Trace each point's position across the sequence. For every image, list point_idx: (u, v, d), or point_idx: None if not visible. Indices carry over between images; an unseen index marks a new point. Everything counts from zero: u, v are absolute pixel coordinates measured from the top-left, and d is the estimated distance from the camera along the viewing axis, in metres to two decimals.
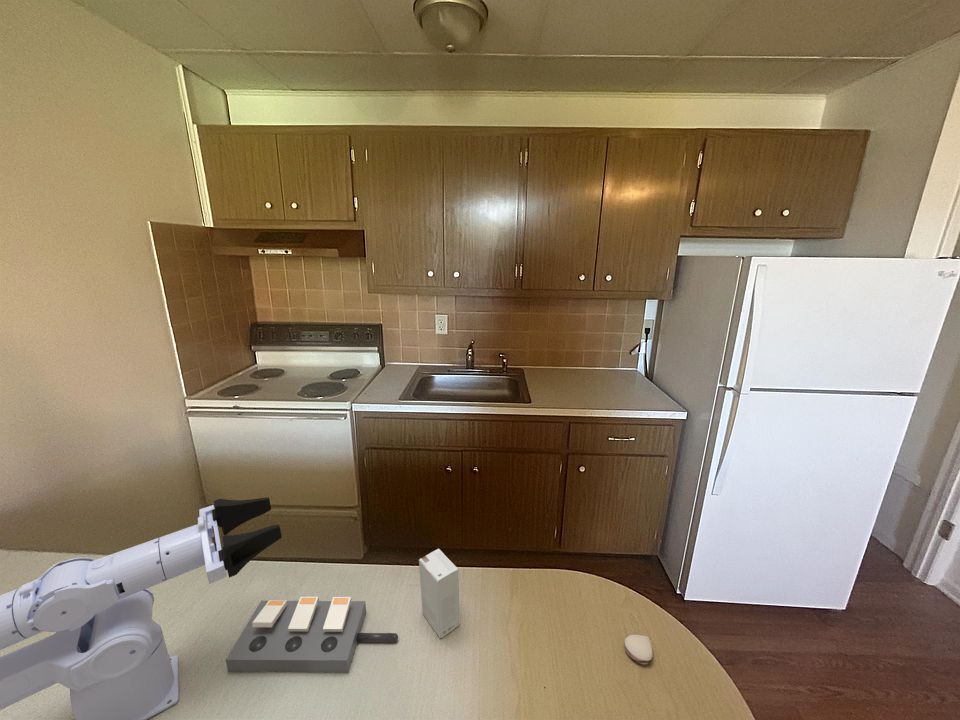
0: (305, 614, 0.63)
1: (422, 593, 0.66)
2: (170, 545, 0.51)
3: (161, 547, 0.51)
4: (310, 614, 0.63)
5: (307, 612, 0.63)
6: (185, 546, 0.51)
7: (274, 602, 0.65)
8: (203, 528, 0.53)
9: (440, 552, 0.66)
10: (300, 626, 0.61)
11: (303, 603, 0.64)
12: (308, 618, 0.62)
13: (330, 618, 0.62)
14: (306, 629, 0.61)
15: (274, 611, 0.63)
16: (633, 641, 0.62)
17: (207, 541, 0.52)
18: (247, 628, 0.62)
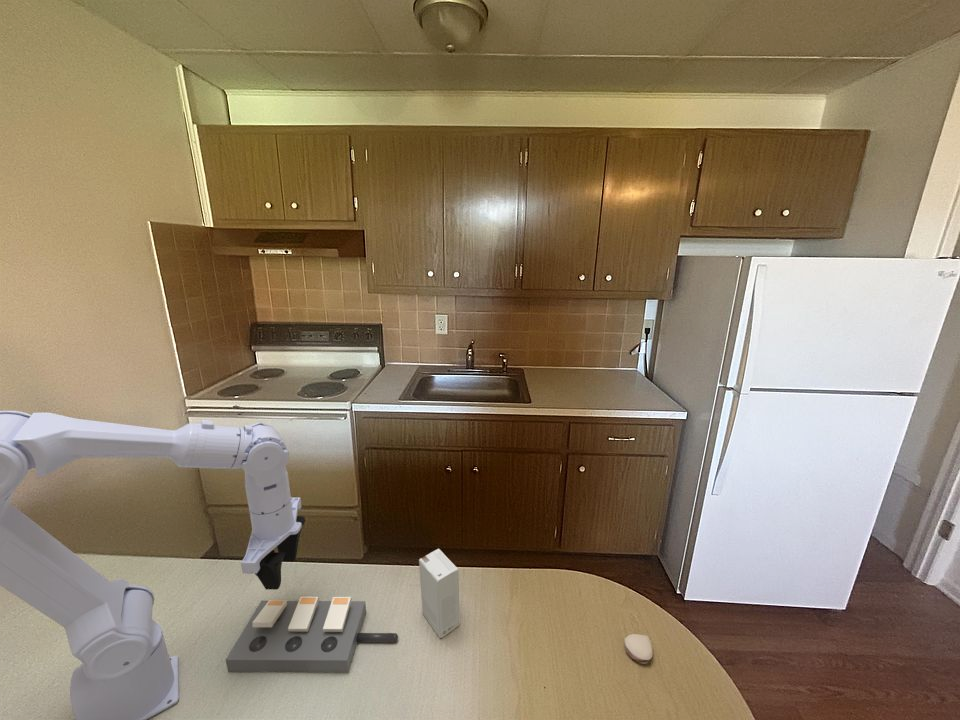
0: (305, 614, 0.63)
1: (422, 593, 0.66)
2: (283, 514, 0.58)
3: (284, 508, 0.58)
4: (310, 614, 0.63)
5: (307, 612, 0.63)
6: (279, 525, 0.58)
7: (274, 602, 0.65)
8: (291, 533, 0.59)
9: (440, 552, 0.66)
10: (300, 626, 0.61)
11: (303, 603, 0.64)
12: (308, 618, 0.62)
13: (330, 618, 0.62)
14: (306, 629, 0.61)
15: (274, 611, 0.63)
16: (633, 640, 0.62)
17: (279, 543, 0.58)
18: (247, 628, 0.62)
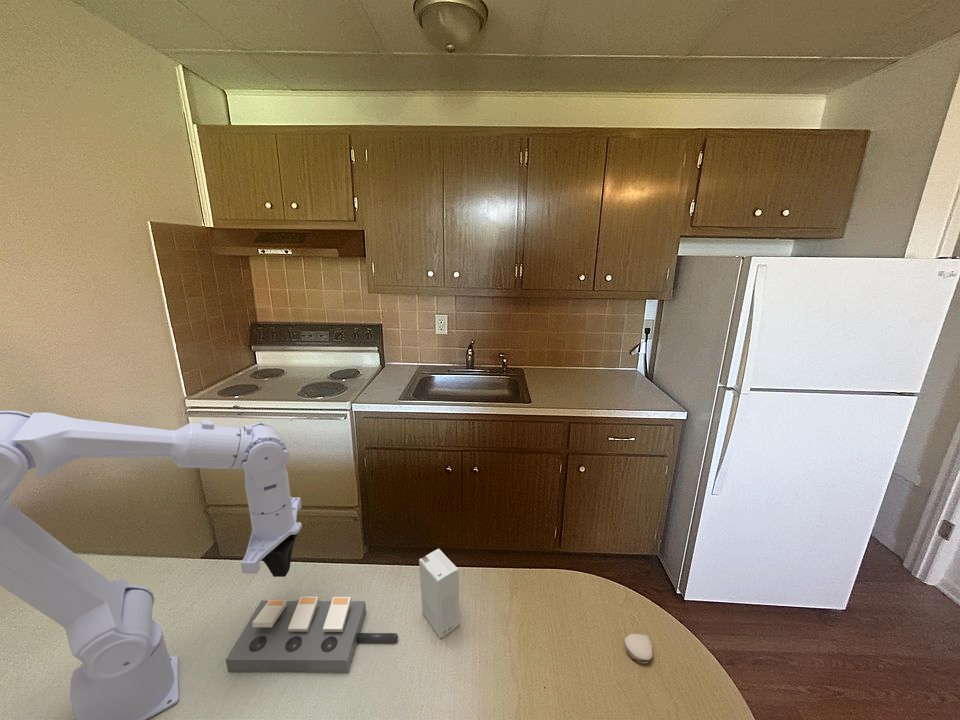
0: (305, 614, 0.63)
1: (422, 593, 0.66)
2: (283, 514, 0.58)
3: (284, 508, 0.58)
4: (310, 614, 0.63)
5: (307, 612, 0.63)
6: (279, 525, 0.58)
7: (274, 602, 0.65)
8: (291, 533, 0.59)
9: (440, 552, 0.66)
10: (300, 626, 0.61)
11: (303, 603, 0.64)
12: (308, 618, 0.62)
13: (330, 618, 0.62)
14: (306, 629, 0.61)
15: (274, 611, 0.63)
16: (633, 640, 0.62)
17: (279, 543, 0.58)
18: (247, 628, 0.62)
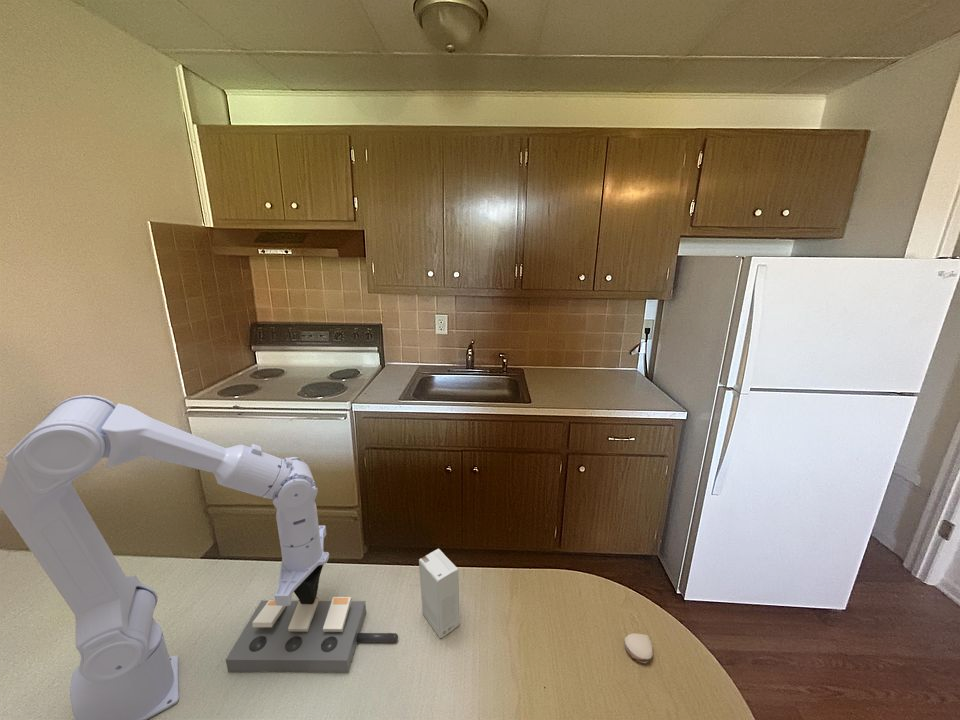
0: (305, 614, 0.63)
1: (422, 593, 0.66)
2: (313, 545, 0.60)
3: (313, 540, 0.60)
4: (310, 614, 0.63)
5: (307, 612, 0.63)
6: (308, 557, 0.60)
7: (274, 602, 0.65)
8: (320, 564, 0.61)
9: (440, 552, 0.66)
10: (300, 626, 0.61)
11: None
12: (308, 618, 0.62)
13: (330, 618, 0.62)
14: (306, 629, 0.61)
15: (274, 611, 0.63)
16: (633, 640, 0.62)
17: (309, 574, 0.60)
18: (247, 628, 0.62)
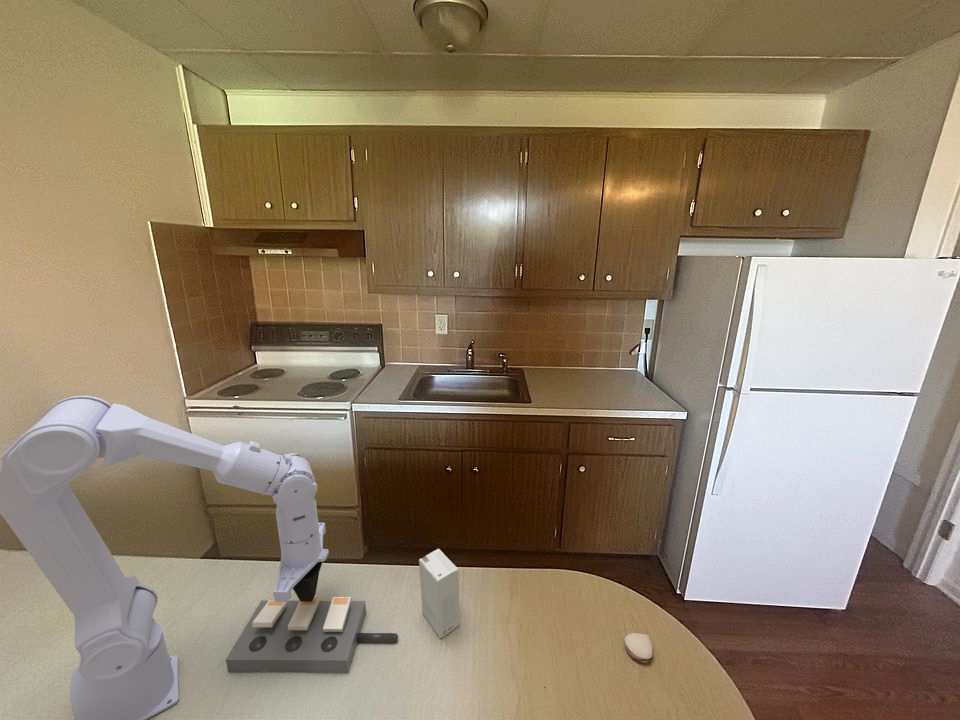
0: (305, 613, 0.63)
1: (422, 593, 0.66)
2: (312, 542, 0.60)
3: (313, 536, 0.60)
4: (310, 614, 0.63)
5: (307, 612, 0.63)
6: (308, 554, 0.60)
7: (274, 602, 0.65)
8: (319, 560, 0.61)
9: (440, 552, 0.66)
10: (300, 624, 0.61)
11: (303, 604, 0.64)
12: (308, 617, 0.62)
13: (330, 618, 0.62)
14: (306, 628, 0.61)
15: (274, 611, 0.63)
16: (633, 639, 0.62)
17: (308, 571, 0.59)
18: (247, 628, 0.62)
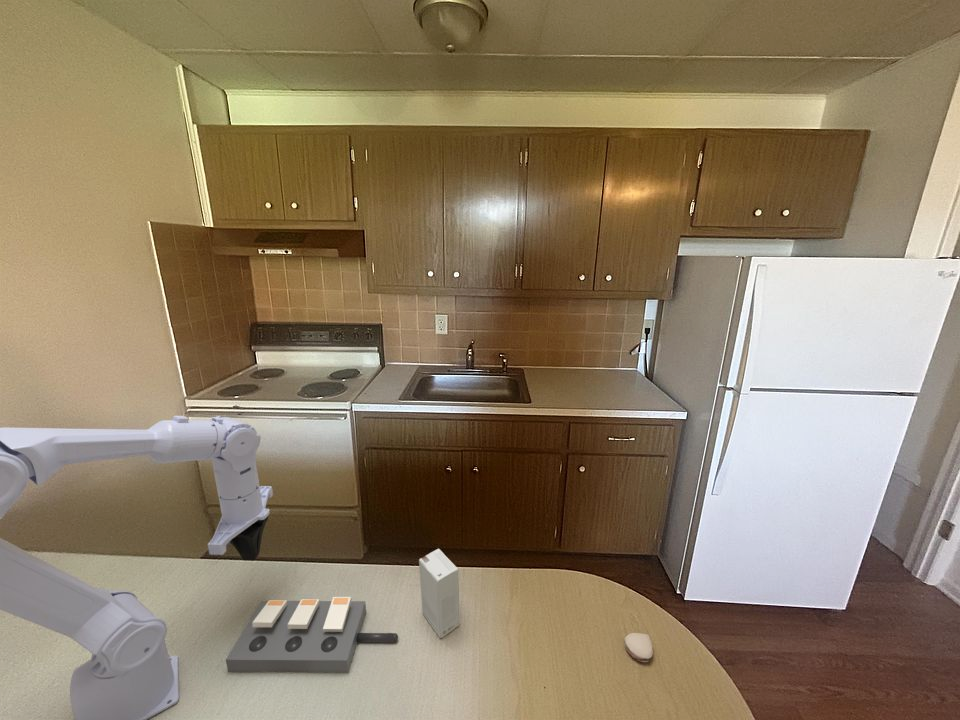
0: (305, 613, 0.63)
1: (422, 593, 0.66)
2: (251, 500, 0.62)
3: (251, 494, 0.61)
4: (310, 613, 0.63)
5: (308, 611, 0.63)
6: (246, 511, 0.61)
7: (274, 602, 0.65)
8: (259, 519, 0.63)
9: (440, 552, 0.66)
10: (300, 622, 0.61)
11: (303, 605, 0.64)
12: (308, 616, 0.62)
13: (330, 618, 0.62)
14: (306, 626, 0.61)
15: (274, 611, 0.63)
16: (633, 639, 0.62)
17: (246, 527, 0.61)
18: (247, 628, 0.62)
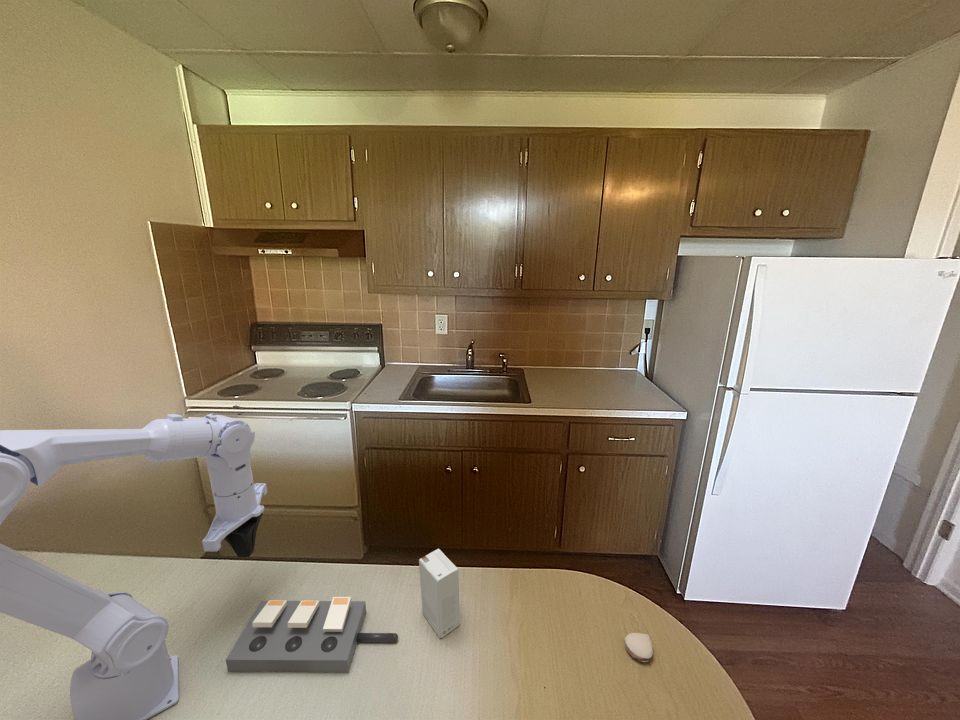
0: (305, 612, 0.63)
1: (422, 593, 0.66)
2: (245, 497, 0.62)
3: (245, 491, 0.62)
4: (310, 613, 0.63)
5: (308, 611, 0.63)
6: (241, 507, 0.62)
7: (274, 602, 0.65)
8: (253, 515, 0.63)
9: (440, 552, 0.66)
10: (300, 621, 0.61)
11: (303, 605, 0.65)
12: (308, 615, 0.62)
13: (330, 618, 0.62)
14: (306, 624, 0.61)
15: (274, 611, 0.63)
16: (633, 639, 0.62)
17: (241, 524, 0.61)
18: (247, 628, 0.62)
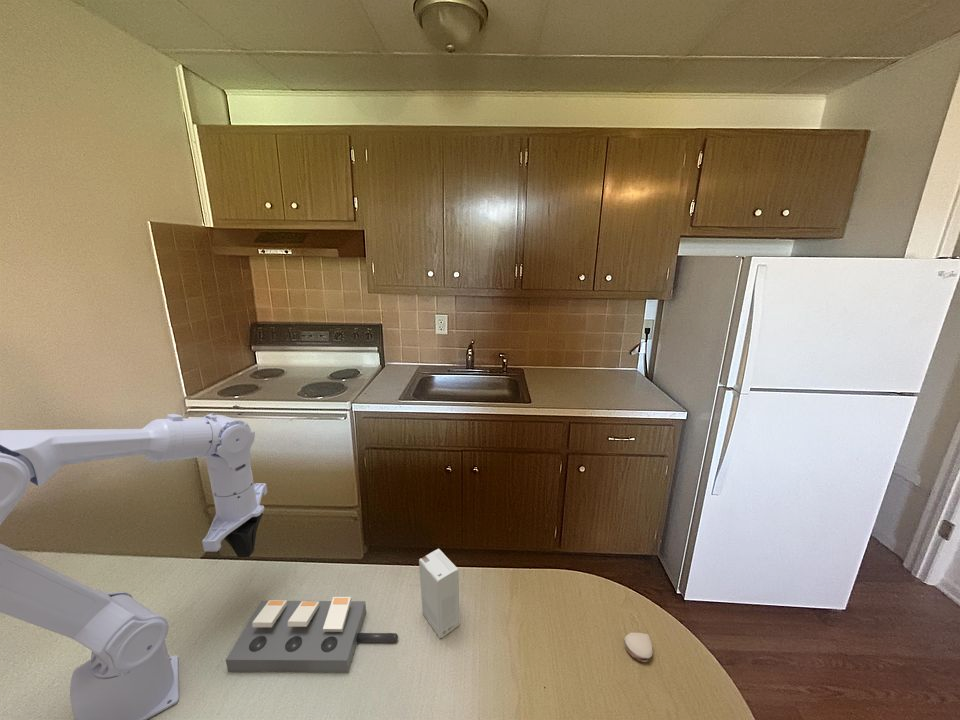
0: (306, 612, 0.63)
1: (422, 593, 0.66)
2: (245, 497, 0.62)
3: (245, 491, 0.62)
4: (310, 612, 0.63)
5: (308, 611, 0.63)
6: (241, 507, 0.62)
7: (274, 602, 0.65)
8: (253, 515, 0.63)
9: (440, 552, 0.66)
10: (300, 619, 0.61)
11: (304, 606, 0.65)
12: (308, 615, 0.62)
13: (330, 618, 0.62)
14: (306, 623, 0.61)
15: (274, 611, 0.63)
16: (633, 639, 0.62)
17: (241, 524, 0.61)
18: (247, 628, 0.62)
